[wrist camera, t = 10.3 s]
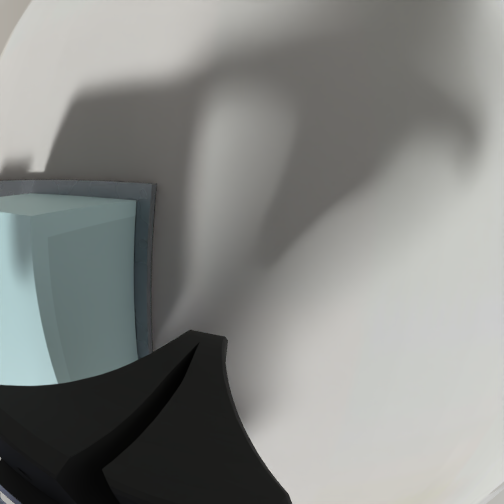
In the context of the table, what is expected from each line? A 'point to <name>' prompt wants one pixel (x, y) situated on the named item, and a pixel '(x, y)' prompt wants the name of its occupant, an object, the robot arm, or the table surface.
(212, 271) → the table surface
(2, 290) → the cover
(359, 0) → the table surface
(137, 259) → the base plate
